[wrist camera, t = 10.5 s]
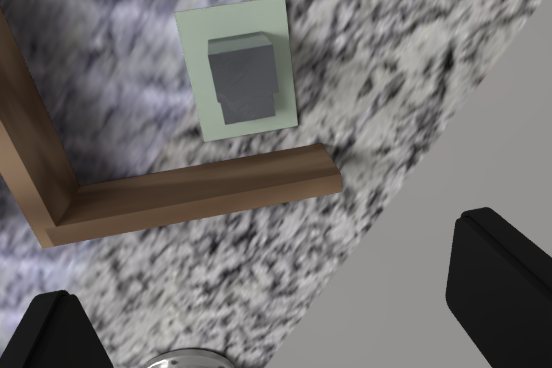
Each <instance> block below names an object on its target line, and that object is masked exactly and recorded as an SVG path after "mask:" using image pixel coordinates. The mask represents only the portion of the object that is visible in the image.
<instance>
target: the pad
mask: <svg viewBox="0 0 552 368" xmlns="http://www.w3.org/2000/svg"><path fill="white" fill-rule="evenodd" d="M174 15H175V19H176V24H177V28H178V32H179V36H180V40H181V44H182V49H183V53H184V57H185V61H186V65H187V70H188V74H189V78H190V82H191V86H192V91H193V95H194V99H195V103H196V107H197V112H198V116H199V120H200V124H201V128H202V133H203V137H204V141H205V142H208V141H213V140H219V139H225V138H230V137H236V136H242V135H248V134H253V133H259V132H265V131H270V130H276V129H282V128H288V127H293V126H298V122H297V112H296V102H295V92H294V82H293V73H292V63H291V53H290V43H289V33H288V23H287V13H286V4H285V0H254V1H247V2H240V3H234V4H227V5H221V6H214V7H207V8H201V9H194V10H187V11H181V12H174ZM259 31H262V33H263V34H264V35H265V36H266V37H267V38H268V39H269V41H270V42H271V43H272V44H273V50H274V58H275V65H276V73H277V81H278V89H279V93H273V99H274V107H275V114H276V116H273V117H268V118H262V119H256V120H251V121H245V122H240V123H234V124H229V125H225V123H224V118H223V113H222V108H221V104H220V103H218V101H217V96H216V92H215V87H214V83H213V78H212V73H211V69H210V64H209V59H208V40H210V39H216V38H223V37H229V36H235V35H241V34H247V33H253V32H259Z"/></svg>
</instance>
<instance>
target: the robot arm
mask: <svg viewBox="0 0 552 368" xmlns="http://www.w3.org/2000/svg"><path fill="white" fill-rule="evenodd" d="M446 301H447V305H448V307H449V309H450V310H451V312H452V313H453V314H454V316H455V317H456V319H457V320H458V321H459V323H460V324H461V325H462V327H463V328H464V330H465V331H466V332H467V334H468V335H469V336H470V338H471V339H472V341H473V342H474V343H475V344H476V346H477V348H478V349H479V350H480V352H481V353H482V354H483V356H484V357H485V358H486V360H487V361H488V363H489V364H490V365H491V367H492V368H552V258H551V257H550V256H549V255H548V254H546V253H545V252H544V251H543V250H542V249H540V248H539V247H538V246H537V245H535V244H534V243H533V242H532V241H531V240H529V239H528V238H527V237H525V236H524V235H523V234H522V233H521V232H519V231H518V230H517V229H516V228H514V227H513V226H512V225H511V224H510V223H508V222H507V221H506V220H505V219H503V218H502V217H501V216H500V215H499V214H497V213H496V212H495V211H494V210H492V209H491V208H488V207H484V208H479V209H474V210H469V211H465V212H463V213H462V214H461V217H460V218H459V219H457V220H456V222H455V229H454V236H453V243H452V252H451V258H450V266H449V273H448V280H447V287H446ZM0 368H114V367H113V364H112V363H111V361H110V359H109V357H108V355H107V353H106V351H105V349H104V347H103V345H102V343H101V342H100V340H99V338H98V336H97V334H96V332H95V330H94V328H93V326H92V324H91V322H90V320H89V319H88V317H87V315H86V313H85V311H84V309H83V307H82V305H81V303H80V301H79V299H78V298H77V296H76V295H74V294H72V295H70V294H69V293H68V292H67V291H66V290H59V291H54V292H49V293H44V294H39V295H37V296H35V297H34V299H33V300H32V302H31V303H30V305H29V307H28V309H27V311H26V312H25V314H24V316H23V318H22V320H21V321H20V323H19V325H18V327H17V329H16V331H15V332H14V334H13V336H12V338H11V340H10V341H9V343H8V345H7V347H6V349H5V350H4V352H3V354H2V356H1V358H0ZM142 368H235V367H234V365H233V364H232V363H231V362H230V361H229V360H228V359H226V358H224V357H223V356H221V355H219V354H216V353H213V352H210V351H205V350H197V349H186V350H178V351H172V352H169V353H165V354H162V355H160V356H158V357H156V358H154V359H152V360H150V361H149V362H147V363H146V364H145V365H144V366H143V367H142Z"/></svg>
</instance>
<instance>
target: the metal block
mask: <svg viewBox="0 0 552 368" xmlns="http://www.w3.org/2000/svg"><path fill="white" fill-rule="evenodd" d="M208 59H209V64H210V69H211V73H212V78H213V83H214V87H215V92H216V96H217V101H218V103H220V104H221V108H222V113H223V118H224V123H225V125H229V124H234V123H240V122H245V121H251V120H256V119H262V118H268V117H273V116H276V114H275V107H274V99H273V93H279V89H278V81H277V73H276V65H275V58H274V50H273V44H272V43H271V42H270V41H269V39H268V38H267V37H266V36H265V35H264V34H263V33H262V31H259V32H253V33H247V34H241V35H235V36H229V37H223V38H216V39H210V40H208Z"/></svg>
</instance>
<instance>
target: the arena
mask: <svg viewBox="0 0 552 368" xmlns="http://www.w3.org/2000/svg"><path fill="white" fill-rule="evenodd" d="M0 173H1V175H2V176H3V178H4V180H5V182H6V184H7V185H8V187H9V189H10V191H11V193H12V194H13V196H14V198H15V200H16V202H17V203H18V205H19V207H20V209H21V210H22V212H23V214H24V216H25V218H26V219H27V221H28V223H29V225H30V227H31V228H32V230H33V232H34V234H35V236H36V237H37V239H38V241H39V243H40V245H41V246H42V248H48V247H53V246H58V245H64V244H69V243H74V242H79V241H85V240H90V239H95V238H101V237H106V236H111V235H116V234H122V233H127V232H132V231H138V230H143V229H148V228H153V227H159V226H164V225H169V224H175V223H180V222H185V221H190V220H196V219H201V218H206V217H212V216H217V215H222V214H227V213H233V212H238V211H243V210H249V209H254V208H259V207H265V206H270V205H275V204H280V203H286V202H291V201H296V200H302V199H307V198H312V197H317V196H323V195H328V194H333V193H339V192H342V182H341V173H340V171H339V170H338V168H337V167H336V165H335V164H334V162H333V161H332V159H331V158H330V156H329V155H328V153H327V152H326V150H325V148H324V147H323V145H322V144H321V143H320V144H314V145H309V146H303V147H297V148H292V149H286V150H281V151H275V152H270V153H264V154H258V155H253V156H247V157H242V158H236V159H231V160H225V161H219V162H214V163H208V164H203V165H197V166H191V167H186V168H180V169H175V170H169V171H164V172H158V173H152V174H147V175H141V176H136V177H130V178H124V179H119V180H113V181H108V182H102V183H97V184H91V185H85V186H80V184H79V182H78V180H77V178H76V175H75V173H74V171H73V169H72V166H71V164H70V162H69V160H68V157H67V155H66V153H65V151H64V148H63V146H62V144H61V142H60V139H59V137H58V135H57V133H56V131H55V128H54V126H53V124H52V122H51V119H50V117H49V115H48V113H47V110H46V108H45V106H44V104H43V101H42V99H41V97H40V95H39V92H38V90H37V88H36V86H35V83H34V81H33V79H32V77H31V75H30V72H29V70H28V68H27V66H26V63H25V61H24V59H23V57H22V54H21V52H20V50H19V48H18V45H17V43H16V41H15V39H14V36H13V34H12V32H11V30H10V27H9V25H8V23H7V21H6V19H5V16H4V14H3V12H2V10H1V7H0Z"/></svg>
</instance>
